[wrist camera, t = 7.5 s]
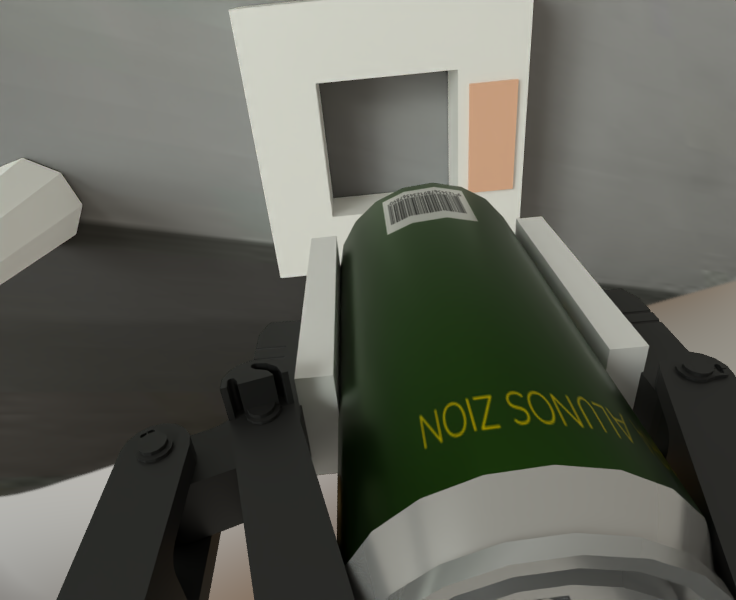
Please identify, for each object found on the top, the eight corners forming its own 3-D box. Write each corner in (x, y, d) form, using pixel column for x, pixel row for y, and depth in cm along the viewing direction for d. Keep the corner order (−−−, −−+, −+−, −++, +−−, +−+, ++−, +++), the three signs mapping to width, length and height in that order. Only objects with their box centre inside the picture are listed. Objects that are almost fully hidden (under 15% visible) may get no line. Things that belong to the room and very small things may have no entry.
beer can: (314, 207, 16) (265, 609, 6) (489, 149, 15) (777, 488, 5) (370, 345, 19) (403, 784, 9) (521, 300, 18) (755, 721, 8)
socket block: (285, 255, 34) (280, 279, 32) (239, 6, 27) (227, 10, 24) (504, 234, 34) (518, 256, 31) (516, -22, 27) (536, -21, 24)
